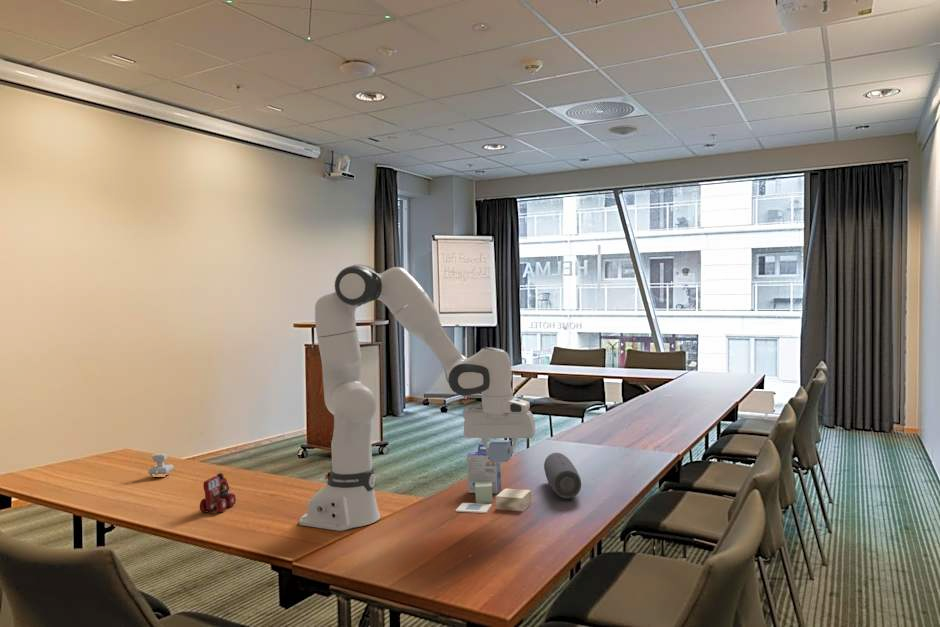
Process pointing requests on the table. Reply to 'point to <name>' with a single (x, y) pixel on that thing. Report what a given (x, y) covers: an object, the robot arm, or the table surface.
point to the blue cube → (499, 450)
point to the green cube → (483, 492)
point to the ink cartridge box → (482, 470)
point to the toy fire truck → (217, 494)
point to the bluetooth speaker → (562, 475)
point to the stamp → (160, 465)
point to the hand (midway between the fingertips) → (500, 453)
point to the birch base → (513, 499)
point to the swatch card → (474, 507)
